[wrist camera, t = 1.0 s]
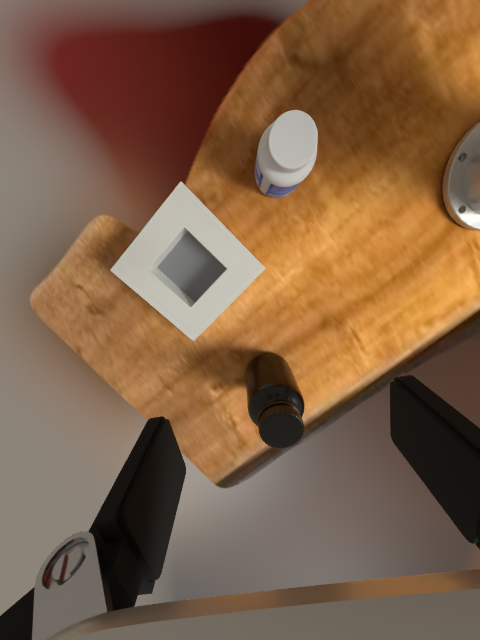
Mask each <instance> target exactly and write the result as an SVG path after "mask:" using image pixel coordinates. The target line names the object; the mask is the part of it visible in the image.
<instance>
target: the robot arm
mask: <svg viewBox="0 0 480 640" xmlns="http://www.w3.org/2000/svg"><path fill="white" fill-rule="evenodd" d="M442 192H443V201H444V204H445V207H446V210H447V211H448V213H449V215H450V216H451V218H452V219H453V220H454V221H455V222H456V223H457V224H459V225H461V226H463V227H464V228H467V229H470V230H474V231H480V121H479V122H478V123H476V124H475V125H474V126H473V127H472V128H471V129H470V130H469V131H468V132H467V133H466V134H465V135H464V136H463V138H462V139H461V140H460V141H459V143H458V144H457V146H456V147H455V149H454V151H453V152H452V154H451V156H450V158H449V161H448V163H447V166H446V169H445V173H444V177H443V187H442ZM390 420H391V421H390V423H391V438H392V440H393V442H394V444H395V445H396V447H397V448H398V449H399V451H400V452H401V453H402V454H403V456H404V457H405V458H406V460H407V461H408V462H409V464H410V465H411V466H412V468H413V469H414V470H415V472H416V473H417V474H418V476H419V477H420V478H421V480H422V481H423V482H424V483H425V485H426V486H427V488H428V489H429V490H430V492H431V493H432V494H433V496H434V497H435V498H436V500H437V501H438V502H439V504H440V505H441V506H442V508H443V509H444V510H445V511H446V513H447V514H448V516H449V517H450V518H451V520H452V521H453V522H454V524H455V525H456V526H457V528H458V529H459V530H460V532H461V533H462V534H463V536H464V537H465V538H466V539H467V540H468V541H469V542H470V543H475V544H476V545H477V547H478V548H479V549H480V428H478V427H477V426H476V425H475V424H473V423H472V422H471V421H469V420H468V419H467V418H466V417H464V416H463V415H462V414H461V413H459V412H458V411H457V410H456V409H454V408H453V407H452V406H450V405H449V404H448V403H447V402H446V401H444V400H443V399H442V398H440V397H439V396H438V395H437V394H435V393H434V392H433V391H431V390H430V389H429V388H428V387H426V386H425V385H424V384H423V383H421V382H420V381H419V380H418V379H416V378H415V377H413V376H412V375H407V376H401V377H396V378H394V382H391V383H390ZM185 474H186V466H185V463H184V460H183V457H182V454H181V452H180V449H179V446H178V444H177V441H176V438H175V435H174V433H173V430H172V427H171V425H170V422H169V420H168V419H165V418H164V417H156V418H150V419H149V420H148V421H147V423H146V425H145V427H144V429H143V430H142V432H141V434H140V436H139V438H138V440H137V442H136V444H135V446H134V448H133V449H132V451H131V453H130V455H129V457H128V459H127V460H126V462H125V464H124V466H123V468H122V470H121V471H120V473H119V475H118V477H117V479H116V481H115V483H114V485H113V487H112V489H111V490H110V492H109V494H108V496H107V498H106V500H105V502H104V503H103V505H102V507H101V509H100V511H99V513H98V515H97V517H96V518H95V520H94V522H93V524H92V526H91V528H90V530H89V532H79V533H76V534H73V535H72V536H70V537H69V538H67V539H65V540H64V541H63V542H62V543H61V544H59V545H58V546H57V547H56V548H55V549H54V550H53V552H52V553H51V554H50V555H49V556H48V557H47V559H46V560H45V562H44V563H43V565H42V566H41V568H40V571H39V573H38V575H37V577H36V583H35V587H34V588H33V589H32V590H31V591H29V592H28V593H27V594H26V595H24V596H23V597H22V598H21V599H20V600H19V601H17V602H16V603H15V604H14V605H13V606H12V607H10V608H9V609H8V610H7V611H6V612H5V613H3V614H2V615H1V616H0V640H480V569H477V570H465V571H454V572H444V573H434V574H425V575H414V576H404V577H394V578H384V579H373V580H364V581H355V582H345V583H335V584H326V585H316V586H308V587H298V588H288V589H279V590H271V591H260V592H252V593H243V594H235V595H225V596H216V597H209V598H208V597H207V598H198V599H190V600H181V601H173V602H166V603H159V604H152V605H145V606H137V607H134V606H135V602H136V599H137V596H138V595H142V594H151V593H152V591H153V588H154V584H155V580H157V579H158V578H159V577H160V575H161V572H162V568H163V564H164V560H165V556H166V552H167V548H168V544H169V540H170V536H171V532H172V528H173V524H174V520H175V515H176V511H177V507H178V503H179V499H180V495H181V491H182V487H183V482H184V479H185Z"/></svg>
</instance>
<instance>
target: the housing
mask: <svg viewBox="0 0 480 640" xmlns="http://www.w3.org/2000/svg"><path fill="white" fill-rule="evenodd" d="M265 269H266V268H265V267H264V266H263V265H262V264H261V263H260V262H259V261H258V260H257V259H256V258H255V257H254V256H253V255H252V254H251V253H250V252H249V251H248V250H247V249H246V248H245V247H244V246H243V245H242V244H241V243H240V241H239V240H238V239H237V238H236V237H235V236H234V235H233V234H232V233H231V232H230V231H229V230H228V229H227V228H226V227H225V226H224V225H223V224H222V223H221V222H220V221H219V220H218V219H217V218H216V217H215V216H214V215H213V214H212V213H211V212H210V211H209V210H208V209H207V208H206V207H205V205H204V204H203V203H202V202H201V201H200V200H199V199H198V198H197V197H196V196H195V195H194V194H193V193H192V192H191V191H190V190H189V189H188V188H187V187H186V186H185V185H184V184H183V183H182V182H180V183H179V184H178V185H177V187H176V188H175V189H174V191H173V192H172V193H171V194H170V196H169V197H168V198H167V199H166V201H165V202H164V203H163V204H162V206H161V207H160V208H159V209H158V211H157V212H156V213H155V215H154V216H153V217H152V218H151V219H150V221H149V222H148V223H147V225H146V226H145V227H144V228H143V230H142V231H141V232H140V233H139V235H138V236H137V237H136V238H135V240H134V241H133V242H132V243H131V245H130V246H129V247H128V248H127V250H126V251H125V252H124V253H123V255H122V256H121V257H120V258H119V260H118V261H117V262H116V264H115V265H114V266H113V267H112V269H111V270H110V271H112V272H113V273H114V274H115V275H116V276H117V277H119V278H120V279H121V280H122V281H123V282H124V283H126V284H127V285H128V286H129V287H130V288H131V289H133V290H134V291H135V292H136V293H137V294H139V295H140V296H141V297H142V298H143V299H144V300H146V301H147V302H148V303H149V304H150V305H151V306H153V307H154V308H155V309H156V310H157V311H158V312H160V313H161V314H162V315H163V316H164V317H166V318H167V319H168V320H169V321H170V322H171V323H173V324H174V325H175V326H176V327H177V328H178V329H180V330H181V331H182V332H183V333H184V334H185V335H187V336H188V337H189V338H190V339H191V340H193V341H194V340H195V339H196V338H197V337H198V336H199V335H200V334H201V333H202V332H203V331H204V330H205V329H206V328H207V327H208V326H209V325H210V324H211V323H212V322H213V321H214V320H215V319H216V318H217V317H218V316H219V315H220V314H221V313H222V312H223V311H224V310H225V309H226V308H227V307H228V306H229V305H230V304H231V303H232V302H233V301H234V300H235V299H236V298H237V297H238V296H239V295H240V294H241V293H242V292H243V291H244V290H245V289H246V288H247V287H248V286H249V285H250V284H251V283H252V282H253V281H254V280H255V279H256V278H257V277H258V276H259V275H260V274H261V273H262V272H263V271H264V270H265Z"/></svg>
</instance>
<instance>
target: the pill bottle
mask: <svg viewBox="0 0 480 640" xmlns="http://www.w3.org/2000/svg"><path fill="white" fill-rule="evenodd" d="M317 143H318V131H317V128H316V125H315V122H314V121H313V119H312V118H311V117H310V116H309V115H308V114H307V113H305V112H303V111H300V110H290V111H287V112H285V113H283V114H282V115H280V116H279V117H278V118H277V119H276V120H275V121H274V122H273V123H272V124H270V125H269V126H268V127H267V129H266V130H265V131H264V133H263V135H262V137H261V139H260V142H259V145H258V150H257V157H256V163H255V171H254V173H255V180H256V183H257V186H258V187H259V189H260V190H261V192H262V193H263V194H265V195H266V196H268V197H271V198H282V197H285V196H287V195H288V194H290V193H291V192H292V191H293V190H294V189H295V188H296V187H297V186H298V185H299V184H300V183H301V182H302V181H303V180H304V179H305V178H306V177H307V175H308V174H309V173H310V171H311V170H312V168H313V166H314V163H315V160H316V156H317Z"/></svg>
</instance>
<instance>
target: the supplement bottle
mask: <svg viewBox="0 0 480 640" xmlns="http://www.w3.org/2000/svg"><path fill="white" fill-rule="evenodd" d="M246 390H247V403H248V412H249V415H250V418H251V420H252V421H253V422H254V423H255V424H256V425H257V426H258V428H259V434H260V437H261V438H262V440H263V441H264V442H265V443H266V444H268V446H271V447H275V448H286V447H290V446H293V445H294V444H296V443H297V442H298V441H299V440H300V439H301V438H302V435H303V432H304V424H303V420H302V416H303V413H304V400H303V397H302V394H301V392H300V390H299V387H298V385H297V383H296V381H295V378H294V376H293V374H292V371H291V369H290V367H289V365H288V363H287V362H286V361H285V360H284V359H283V358H282V357H280V356H278V355H275V354H262V355H259V356H257V357H255V358H254V359H253V360H252V361H251V362H250V363H249V365H248V367H247V369H246Z"/></svg>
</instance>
